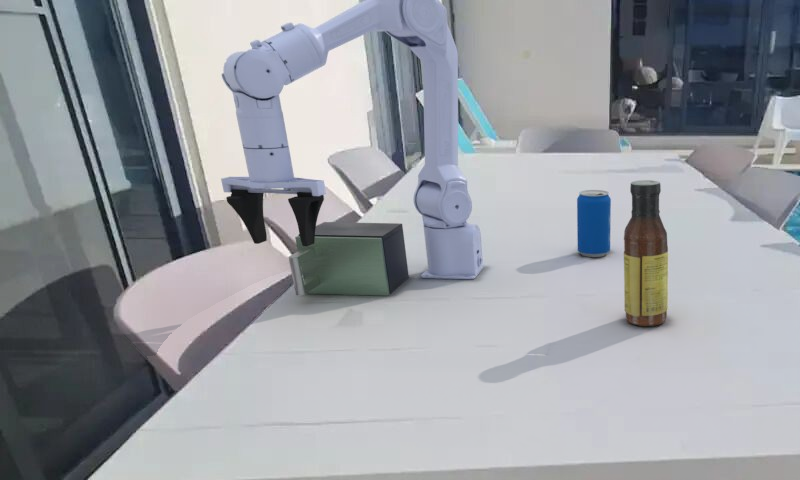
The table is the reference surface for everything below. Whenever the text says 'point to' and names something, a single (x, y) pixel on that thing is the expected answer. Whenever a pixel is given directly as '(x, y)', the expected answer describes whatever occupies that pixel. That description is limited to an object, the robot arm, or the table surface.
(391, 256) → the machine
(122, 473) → the table surface
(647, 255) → the sauce bottle
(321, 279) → the machine door
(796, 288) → the table surface
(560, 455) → the table surface
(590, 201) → the beverage can
